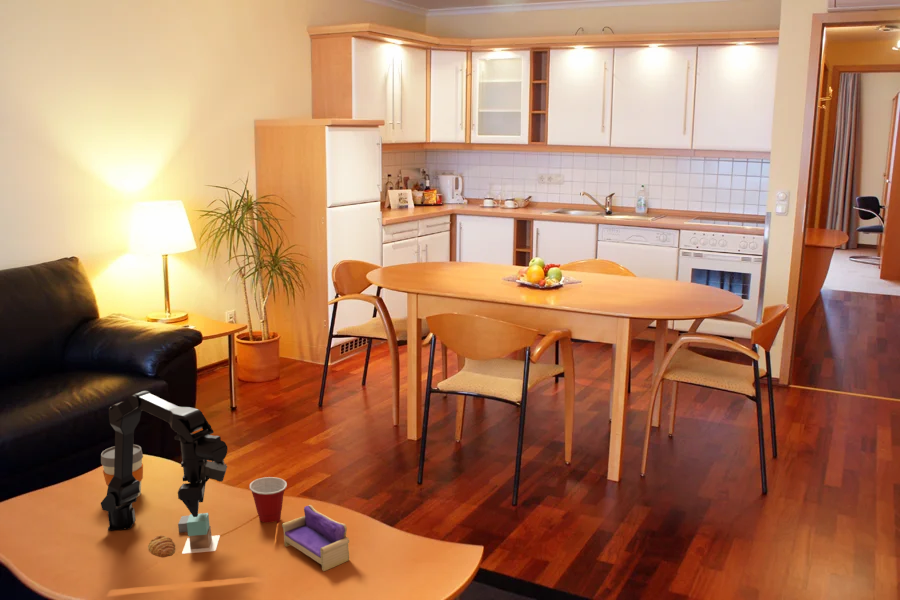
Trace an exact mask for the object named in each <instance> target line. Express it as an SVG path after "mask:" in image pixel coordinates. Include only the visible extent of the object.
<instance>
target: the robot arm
mask: <svg viewBox="0 0 900 600" xmlns="http://www.w3.org/2000/svg"><path fill="white" fill-rule="evenodd" d="M142 411H143V412H146V413H149V414H150V415H153V417H157V418H158V419H160V420H163V421H165V422H166V423H168V424H169V425H170V428H171V429H172V430H173V431H174V432H175V433H177V434H176V435H175V436H174V440H176V441H180V451H181V459H182V461H181V463H180V467H181V468H182V471H183V476H182V482H187V483H183V484H181V485H180V487H179V488H178V490H177V499H178V500H180V501H181V502H182V503H183V504H184V505H185V507H186V508H187V510H188V511H189V512H190V514H192V515H193V517H197V516H198V514H199V510H200V509H199V507H200V503H203V502H204V499H205V491H206V490H205V489H206V484H207V482H208V481H209V480H210V479H211V480H213V481H217V482H219V483H220V482H223V481H224V479H225V475H226V472H227V468H228V465H227V463H226V462H225V459H226V457H227V454H228V445H227V444H226V442H225V441H223V440H221V439H222V438H221V436H219V435H212V434H214V430H213V428H212V426H211V424H210V422H208V420H207V419H206V417H205V415H204V414H203V412H202V411H201V410H200V409H198V408H195V407H190V406H178V405H176V404H174V403H172V402H169V401H167V400H165V399H163V398H160V397H159V396H157V395H154V394H152V393H151V391H149V390H142V391H140V392H136V393H134V394H132V395H131V396H129V397H128V398H127V399H125V400H123V401H120V402H117V403H115V404H112V405H111V406H110V407H109V408H108V419H109V425H110V426H111V427H112V429H113V430H114V446H115V460H114V476H113V478H112V480H111V481H110V483H109V485H108V486H107V491H106V496H105V497H104V498H103V499H102V501H101V502H100V506H101V509H102V510H103V511H105V512H107V515H108V517H107V518H108V524H109V525H108V527H107V531H119V530H120V531H121V530H130V529H131V528H132V527H133V525H134V524H135V521H136V512H135V507H133V503H136V502H137V498H138V497H139V496H138V493H140V490H139V485H140V482H139V481H138V480H136V479H135V477H134V476H133V474H132V470H133V444H134V438H135V437H134V435H135V429H136V428H137V426H138V425H139V423H140V421H141V416H142ZM196 431H197V432H196ZM194 432H195V433H194ZM137 496H138V497H137Z"/></svg>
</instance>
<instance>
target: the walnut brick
mask: <svg viewBox="0 0 900 600" xmlns="http://www.w3.org/2000/svg"><path fill="white" fill-rule="evenodd" d="M211 528H212V527H211V525H210V527H209V530H208V533H207V535H195V536H188V538H189V539H190V549H201V548H209V547H210V543H211V540H212V536H213V535H212V529H211Z"/></svg>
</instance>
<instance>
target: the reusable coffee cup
mask: <svg viewBox="0 0 900 600" xmlns="http://www.w3.org/2000/svg"><path fill="white" fill-rule="evenodd" d="M143 457H144V454H143V450H142V447H141V446H140V445H139V444H134V443H133V470H132V474H133V476H134V477H135V479H136V480H138V481H139V482H140V485H139V490H140V493H138V496H137V498H138V497H140V495H141V494H142V480H143V478H144V464H143ZM114 460H115V445H114V446H111V447H108V448H106V449H105V450H102V452H101V454H100V465H102V468H103V470H102V473H103V477H104V481H105V485H106V486H107V487H108V485H109V483H110V481H111V480H112V478H113V476H114Z"/></svg>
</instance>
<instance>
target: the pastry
mask: <svg viewBox="0 0 900 600" xmlns="http://www.w3.org/2000/svg"><path fill="white" fill-rule="evenodd" d="M147 550H148V551H149V553H151V554H152V555H155V556H158V557H161V558H163V557H164V558H165V557H170V556H172V555H173V554H175V552H176V544H175V542H174V540H173V539H172V538H171V537H169V536H166V535H157V536H155V537H154V538H152V539H151V540H150V541H149V543H148V545H147Z"/></svg>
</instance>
